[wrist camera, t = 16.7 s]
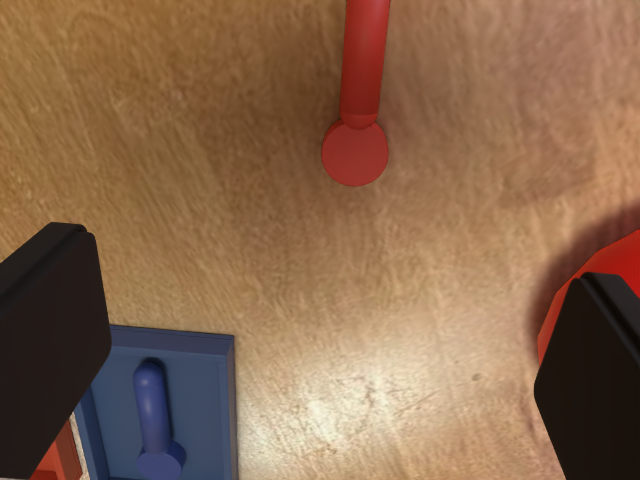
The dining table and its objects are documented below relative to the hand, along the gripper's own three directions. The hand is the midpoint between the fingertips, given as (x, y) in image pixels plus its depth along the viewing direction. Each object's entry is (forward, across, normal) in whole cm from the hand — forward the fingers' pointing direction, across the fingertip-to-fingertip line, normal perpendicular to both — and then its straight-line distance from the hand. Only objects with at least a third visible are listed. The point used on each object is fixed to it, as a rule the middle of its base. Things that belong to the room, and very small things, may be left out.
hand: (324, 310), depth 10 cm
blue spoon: (+16, +11, +22) cm, 29 cm away
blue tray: (+16, +11, +22) cm, 29 cm away
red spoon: (+16, 0, -2) cm, 16 cm away
